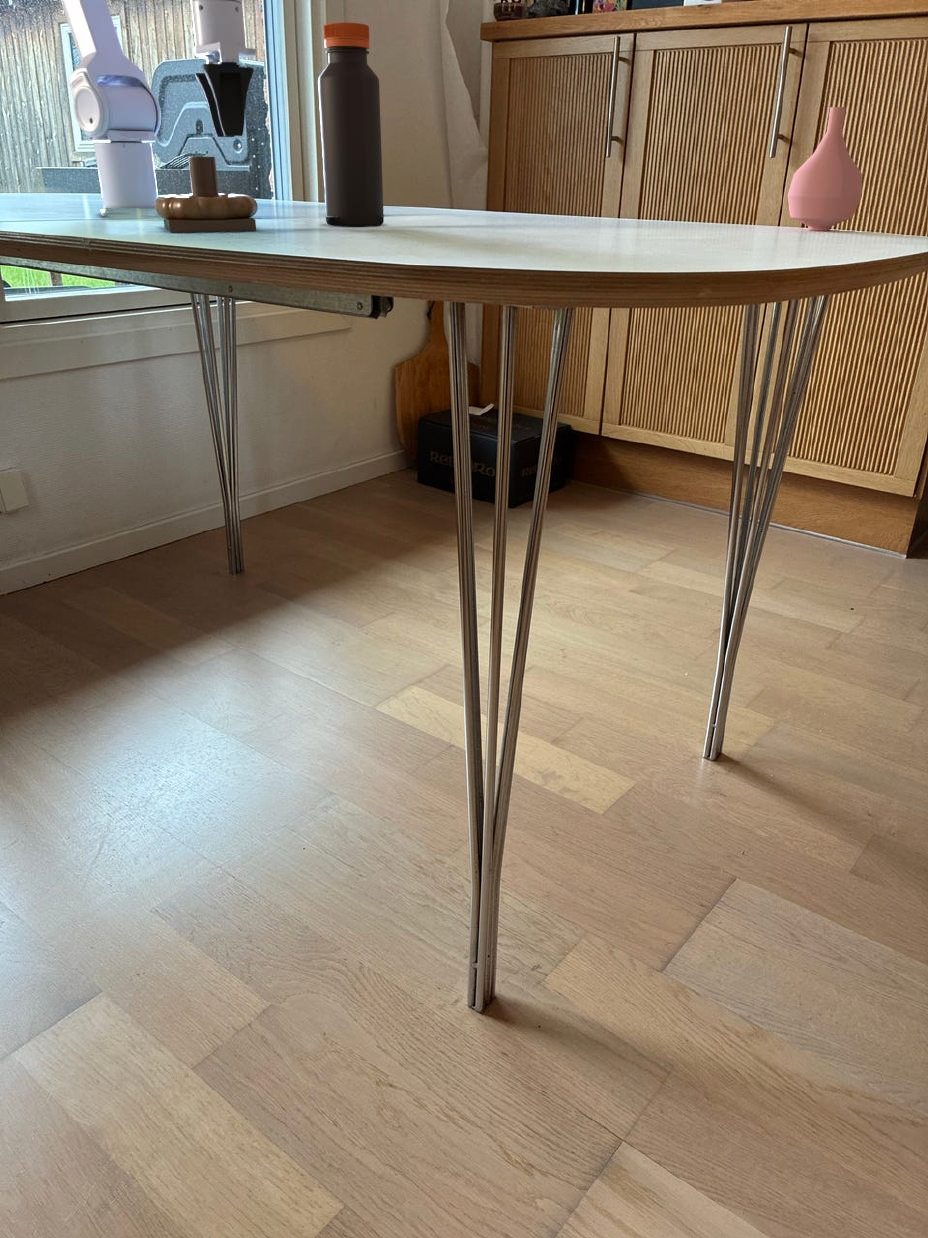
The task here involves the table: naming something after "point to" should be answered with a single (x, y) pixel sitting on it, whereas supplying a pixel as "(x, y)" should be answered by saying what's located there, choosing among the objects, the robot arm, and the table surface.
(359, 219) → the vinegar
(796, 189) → the pink vase
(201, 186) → the wooden peg stand
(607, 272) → the table surface
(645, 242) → the table surface
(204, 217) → the scalloped wooden ring
